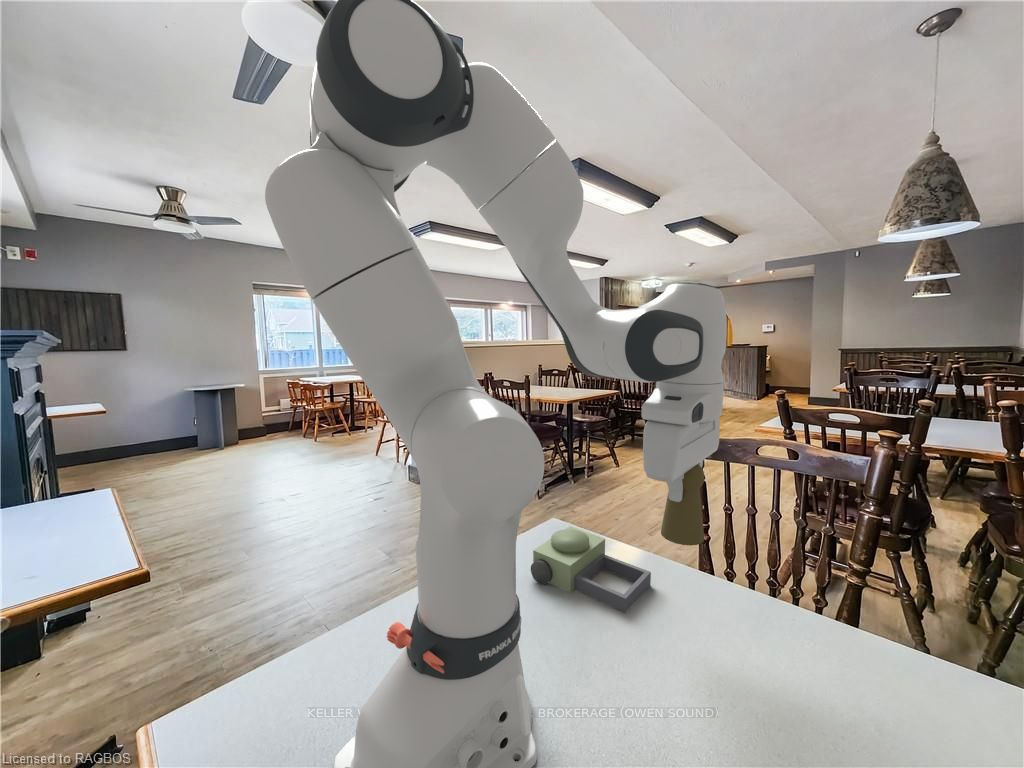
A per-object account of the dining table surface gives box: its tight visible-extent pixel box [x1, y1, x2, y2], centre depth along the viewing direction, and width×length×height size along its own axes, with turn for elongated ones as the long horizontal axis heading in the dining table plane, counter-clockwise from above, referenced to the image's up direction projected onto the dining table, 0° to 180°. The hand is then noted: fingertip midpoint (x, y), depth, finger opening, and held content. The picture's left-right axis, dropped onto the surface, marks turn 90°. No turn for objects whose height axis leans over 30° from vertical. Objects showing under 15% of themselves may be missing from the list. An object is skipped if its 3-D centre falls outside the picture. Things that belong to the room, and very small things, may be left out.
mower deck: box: [530, 526, 652, 614], centre depth 77 cm, size 14×18×6 cm
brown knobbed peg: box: [660, 465, 705, 546], centre depth 63 cm, size 6×6×11 cm
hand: (683, 493), depth 63 cm, fingers closed on brown knobbed peg, 4 cm apart
